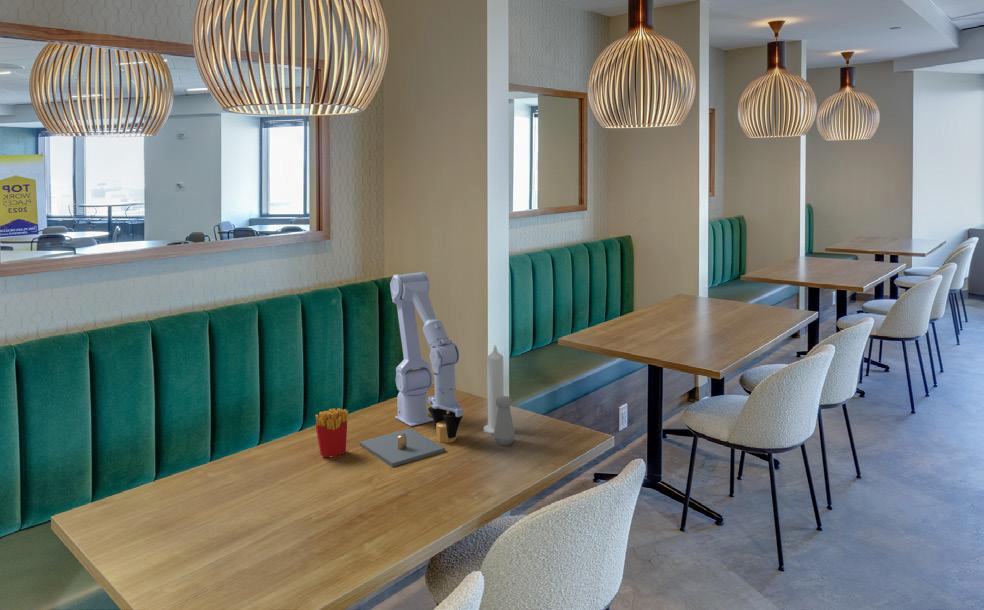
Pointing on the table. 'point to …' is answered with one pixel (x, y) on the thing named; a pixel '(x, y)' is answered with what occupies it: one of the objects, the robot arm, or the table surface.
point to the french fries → (332, 432)
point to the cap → (443, 433)
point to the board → (393, 456)
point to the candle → (494, 387)
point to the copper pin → (402, 441)
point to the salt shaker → (504, 422)
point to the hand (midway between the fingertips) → (446, 434)
